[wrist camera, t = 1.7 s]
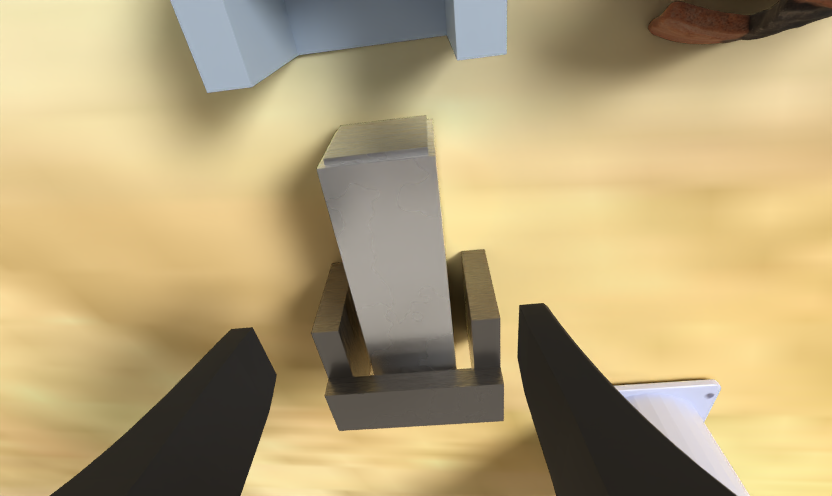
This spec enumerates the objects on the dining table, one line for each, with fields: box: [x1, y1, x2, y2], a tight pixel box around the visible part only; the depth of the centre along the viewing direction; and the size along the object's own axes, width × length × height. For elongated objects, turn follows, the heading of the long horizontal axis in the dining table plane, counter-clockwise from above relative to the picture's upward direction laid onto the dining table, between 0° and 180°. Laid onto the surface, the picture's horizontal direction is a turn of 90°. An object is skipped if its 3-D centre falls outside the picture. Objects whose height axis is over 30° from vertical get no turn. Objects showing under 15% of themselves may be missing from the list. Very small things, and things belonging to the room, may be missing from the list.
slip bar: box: [317, 115, 457, 375], centre depth 16 cm, size 12×3×3 cm, turn 7°
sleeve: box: [311, 249, 504, 431], centre depth 17 cm, size 5×7×5 cm
